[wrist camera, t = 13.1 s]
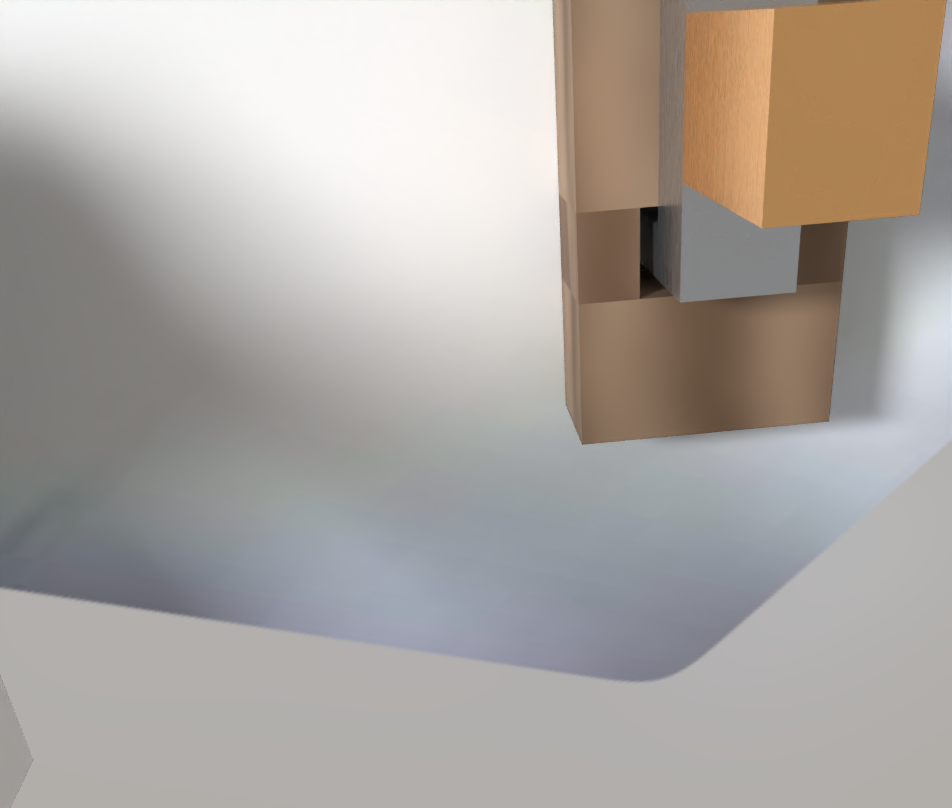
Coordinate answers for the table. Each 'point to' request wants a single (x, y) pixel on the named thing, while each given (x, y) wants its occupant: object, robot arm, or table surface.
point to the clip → (783, 132)
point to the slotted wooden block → (638, 291)
